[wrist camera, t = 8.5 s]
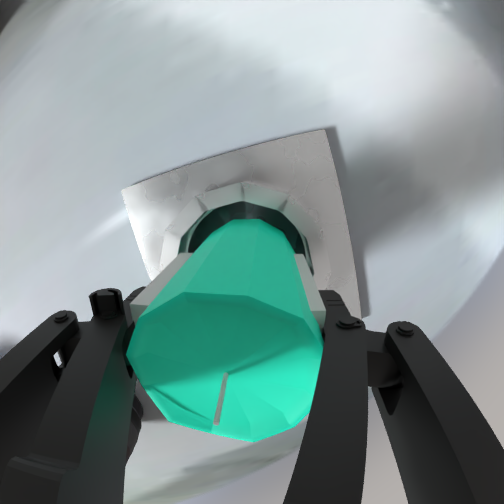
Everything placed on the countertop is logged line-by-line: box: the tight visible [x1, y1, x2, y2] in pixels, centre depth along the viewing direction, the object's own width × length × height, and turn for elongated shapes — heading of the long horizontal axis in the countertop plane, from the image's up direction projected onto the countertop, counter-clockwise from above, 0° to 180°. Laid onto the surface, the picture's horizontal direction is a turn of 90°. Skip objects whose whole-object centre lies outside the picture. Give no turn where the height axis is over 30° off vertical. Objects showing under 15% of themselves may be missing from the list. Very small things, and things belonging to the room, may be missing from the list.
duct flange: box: [121, 129, 362, 320], centre depth 18 cm, size 14×14×3 cm
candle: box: [126, 219, 324, 442], centre depth 12 cm, size 6×6×12 cm
